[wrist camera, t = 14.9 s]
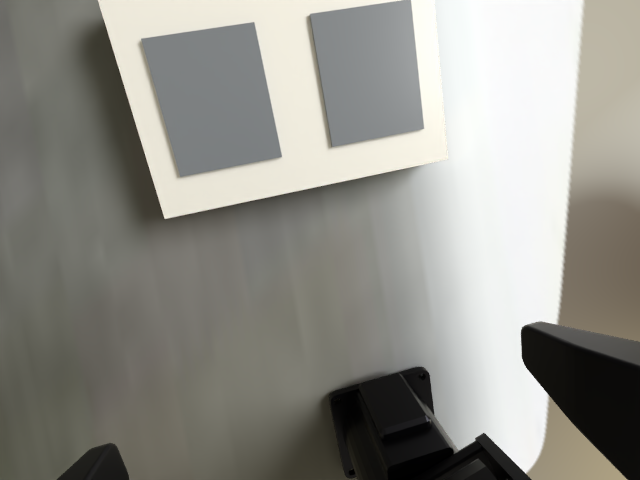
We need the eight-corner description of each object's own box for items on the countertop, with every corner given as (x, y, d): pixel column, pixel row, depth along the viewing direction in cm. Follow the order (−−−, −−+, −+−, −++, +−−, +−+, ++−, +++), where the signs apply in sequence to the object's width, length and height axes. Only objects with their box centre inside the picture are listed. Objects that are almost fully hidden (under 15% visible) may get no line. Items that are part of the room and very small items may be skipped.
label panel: (429, 158, 21) (449, 159, 19) (173, 211, 19) (163, 219, 17) (411, -27, 18) (432, -49, 16) (114, 14, 17) (95, -5, 14)
